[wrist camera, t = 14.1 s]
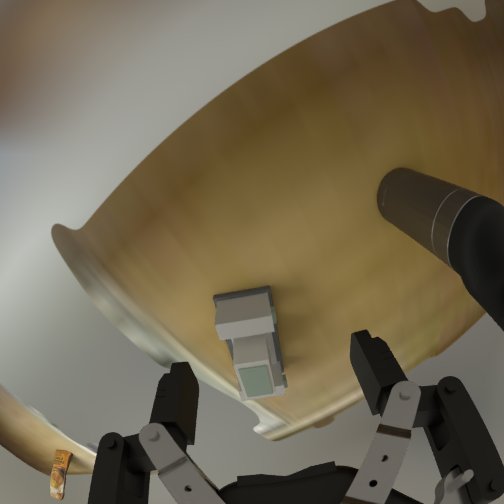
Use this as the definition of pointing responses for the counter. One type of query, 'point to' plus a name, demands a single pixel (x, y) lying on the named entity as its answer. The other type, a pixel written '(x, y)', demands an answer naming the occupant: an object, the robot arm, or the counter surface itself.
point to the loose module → (254, 366)
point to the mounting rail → (251, 326)
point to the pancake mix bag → (59, 473)
